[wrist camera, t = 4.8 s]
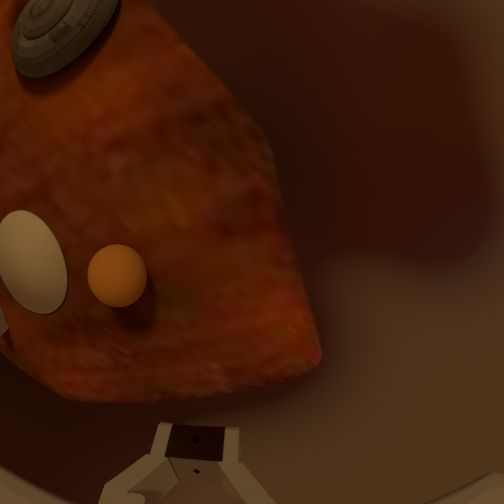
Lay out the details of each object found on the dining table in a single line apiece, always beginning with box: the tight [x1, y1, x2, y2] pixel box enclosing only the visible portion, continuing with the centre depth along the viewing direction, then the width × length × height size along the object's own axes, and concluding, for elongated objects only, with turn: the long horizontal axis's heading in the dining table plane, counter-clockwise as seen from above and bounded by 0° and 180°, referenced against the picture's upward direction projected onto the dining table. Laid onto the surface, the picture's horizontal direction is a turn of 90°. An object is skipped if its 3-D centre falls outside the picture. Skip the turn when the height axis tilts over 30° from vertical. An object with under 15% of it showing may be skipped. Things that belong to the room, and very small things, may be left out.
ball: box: [88, 244, 147, 307], centre depth 24 cm, size 6×6×6 cm
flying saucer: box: [11, 0, 118, 78], centre depth 16 cm, size 15×15×6 cm
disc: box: [0, 210, 68, 314], centre depth 27 cm, size 13×13×1 cm
